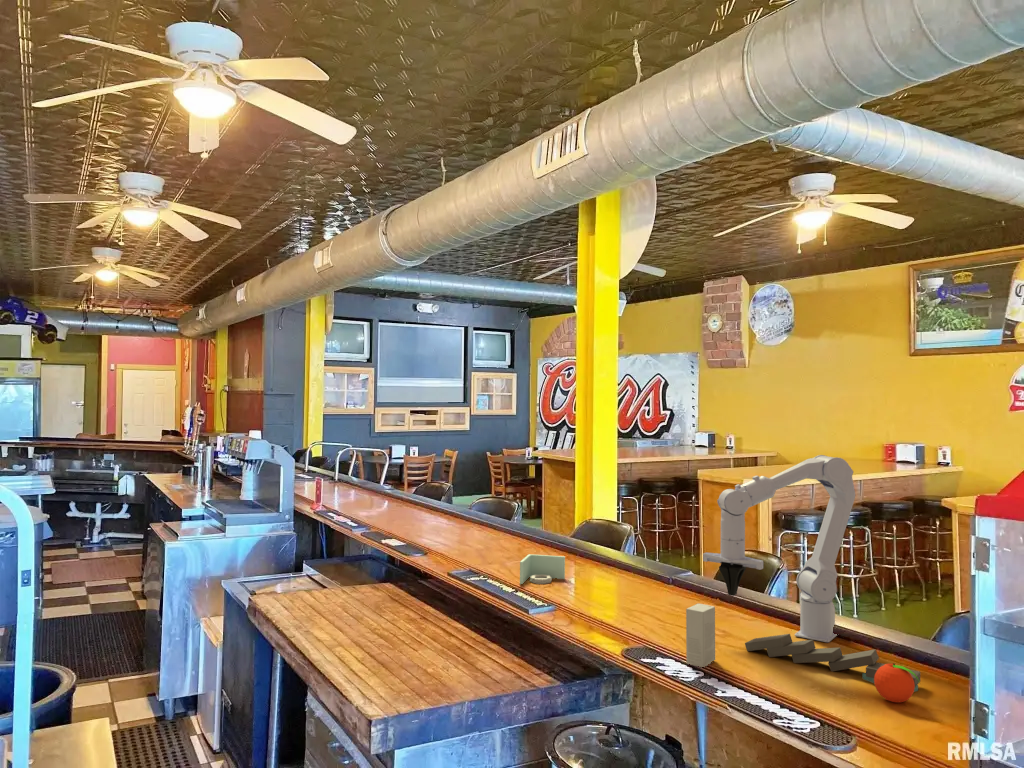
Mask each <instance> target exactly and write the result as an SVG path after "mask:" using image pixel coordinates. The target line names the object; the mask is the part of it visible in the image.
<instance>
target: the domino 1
mask: <svg viewBox="0 0 1024 768" xmlns="http://www.w3.org/2000/svg"><path fill="white" fill-rule="evenodd" d="M791 642H793V640H792V636H791V634H790V633H786V634H785V633H784V634H779V635H778V634H777V635H771V636H763V637H755V638H753V639H750V640H749V641H746V642H744V645H745V648H746V651H747V652H752V651H760V650H767V649H769V648H777V647H784V646H785V645H787V644H789V643H791Z"/></svg>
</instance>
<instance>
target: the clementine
mask: <svg viewBox="0 0 1024 768" xmlns="http://www.w3.org/2000/svg"><path fill="white" fill-rule="evenodd" d="M884 664H885V665H883V666H881V667H880V668H879V669H878V670H877V671H876V673H875V676H874V683H875V684H874V683H873V684H874V687H875V689H876V691H877V692H878V694H879V695H880V696H881V697H882V698H884V699H885V700H886V701H888V702H892V703H903V702H906V701H908V700H909V699H910V698H912V696H913V694H914V688H915V685H914V680H913V678H912V676H911V674H910V673H912V674H913V675H914V676H915V677H916V678H917V676H916V675H915V674H914V673H913V672H912V671H911V670H912V669H910V670H909V668H908V667H905V666H903V665H899V664H896V663H893V662H892V663H884ZM909 672H910V673H909ZM917 679H918V678H917ZM918 681H919V679H918ZM918 684H921V681H920V682H919V683H918Z"/></svg>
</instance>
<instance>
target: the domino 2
mask: <svg viewBox="0 0 1024 768" xmlns="http://www.w3.org/2000/svg"><path fill="white" fill-rule="evenodd" d="M814 641H815V640H813V639H808V640H807V639H806V640H799V641H798V640H797V641H792V642H791V643H789V644H787V645H785V646H784V647H777V648H769V649H766V652H767V655H768V657H769V658H775V657H782V656H792V655H793V654H802V653H808V652H809V651H811V650H813V649H817V648H816V644H815V642H814Z"/></svg>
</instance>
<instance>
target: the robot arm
mask: <svg viewBox="0 0 1024 768" xmlns="http://www.w3.org/2000/svg"><path fill="white" fill-rule="evenodd" d="M853 474H854V470H853V469H852V467H851V466H850V465H849V463H848V462H847V461H846V460H845V459H844V458H843V457H838V456H837V457H835V456H834V457H833V456H827V455H824V454H818V455H816V456H814V457H811V458H807V459H804V460H803V461H801V462H799V463H797V464H795V465H793V466H791V467H789V468H787V469H785V470H783V471H781V472H779V473H777V474H775V475H773V476H770V477H767V476H764V475H761V476H759V475H754V476H752V477H751V478H752V479H751V480H750V481H747V482H744V483H743V484H739V483H738V484H736V485H734V489H733V488H727V489H724V490H723V491H722V492H720V494H719V495H718V496H719V497H718V499H717V504H718V507H719V508H720V553H717V552H715V553H714V552H704V553H702V561H703V562H706V563H707V562H709V563H710V562H711V563H719V564H720V565H719V566H718V569H719V571H720V573H721V575H722V577H723V580H724V582H725V586H726V589H727V595H728V596H732V597H735V596H737V594H738V588H739V585H740V582H741V580H742V577H743V576H744V573H745V571H746V569H747V568H751V569H756V570H763V569H764V560H762V559H756V558H752V557H749V556H746V552H745V551H746V521H745V520H746V516H745V515H746V512H747V511H748V510H749V508H751V507H754V506H756V505H758V504H761V503H763V502H765V501H767V500H770V499H771V498H772V499H773V498H774V496H775V493H776V491H778V490H780V489H783V488H785V487H788V486H791V485H793V484H795V483H798V482H801V481H803V480H806V479H807V480H808V479H809V480H816V481H817V482H819V483H820V484H822V486H823V487H824V489H825V490H826V492H827V493H828V495H829V500H828V503H827V506H826V510H825V514H824V516H823V519H822V522H821V526H820V528H819V532H818V535H817V539H816V542H815V546H814V549H813V552H812V556H811V557H809V558H808V559H807V560H806V561H805V563H804V566H803V568H802V569H801V570H800V571H799V573H798V574H797V576H796V585H797V587H798V589H799V590H800V591H801V593H800V607H799V609H800V611H799V612H800V618H799V620H800V621H799V623H800V625H799V626H800V628H799V629H800V630H798V631H797V632H795V633H794V636H795V637H799V638H803V639H808V640H813V641H819V642H824V643H830V642H831V641H832V640H833V639H835V638H836V637H837V636H838V635H837V634H834V633H833V627H834V625H835V626H836V608H835V605H834V603H833V599H835V597H836V596H837V595H836V594H837V591H838V588H837V587H838V586H837V578H838V572H837V569H836V566H835V564H836V561H837V558H838V554H839V551H840V548H841V545H842V541H843V539H844V535H845V532H846V530H847V529H846V528H847V525H848V522H849V519H850V517H851V516H850V515H851V512H852V509H853V506H854V502H855V499H856V490H855V484H854V480H853Z"/></svg>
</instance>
